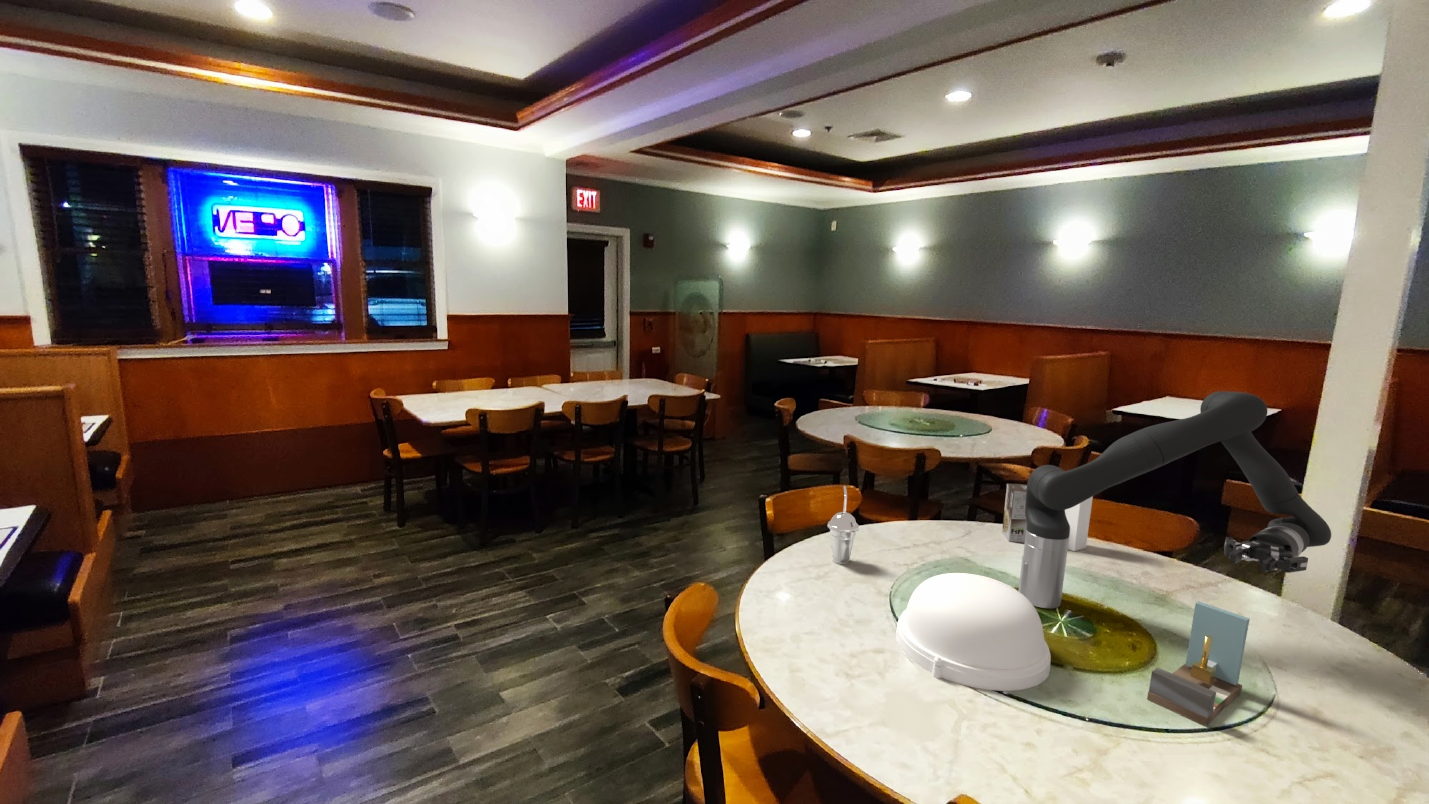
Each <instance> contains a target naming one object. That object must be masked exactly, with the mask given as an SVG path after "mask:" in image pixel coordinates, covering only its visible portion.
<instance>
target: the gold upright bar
mask: <svg viewBox="0 0 1429 804" xmlns="http://www.w3.org/2000/svg"><path fill="white" fill-rule="evenodd" d="M1211 641H1212V637H1211V636H1207V635H1206V636H1205V640H1204V646H1203V652H1202V658H1201V663H1199V662H1197V661H1196V662H1194V663H1193V664H1192V668H1191V674H1190V676H1191V677H1194V678H1196V679H1198V680H1201V681H1203V682H1206V683H1208V684H1210V683H1211V682H1212V681H1213V679H1214V673H1215V669H1214V668H1212V667H1209V666H1207V664H1208V658H1209V652H1210V646H1211Z"/></svg>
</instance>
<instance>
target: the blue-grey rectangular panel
mask: <svg viewBox="0 0 1429 804" xmlns="http://www.w3.org/2000/svg"><path fill="white" fill-rule="evenodd" d="M1249 625H1250V618H1249V617H1246V616H1244V615H1241V614H1238V613H1235V612H1232V611H1229V610H1226V609H1222V608H1219V607H1218V606H1217V607H1216V606H1214V605H1212V604H1211V605H1210V604H1208V603H1205V602H1202V601H1197V602H1195V605H1194V612H1193V617H1192V623H1191V629H1190V635H1189V641H1188V646H1187V648H1188V649H1187V653H1186V659H1185V663H1186V665H1187V666H1190V667H1192V664H1193V663H1194V662H1196V661H1197V662H1199V663H1201V658H1202V652H1203V646H1204V640H1205V636H1206V635H1207V636H1211V637H1212V641H1211V646H1210V652H1209V658H1208V664H1207V666H1209V667H1212V668H1214V669H1215V673H1214V677H1216V678H1219V679H1221V680H1224V681H1226V682H1229V683H1231V684H1234V685H1236V684H1237V683H1238V684H1239V680H1240V674H1241V670H1242V663H1243V658H1244V653H1245V646H1246V641H1247V637H1248V631H1249V630H1248V629H1249Z"/></svg>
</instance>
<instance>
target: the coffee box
mask: <svg viewBox="0 0 1429 804" xmlns="http://www.w3.org/2000/svg"><path fill="white" fill-rule="evenodd" d="M1005 491H1006V492H1005V500H1004V511H1003V520H1002V531H1001V532H1002V533H1003V535H1004V536H1005V538H1006V539H1007V540H1008V542H1013V543H1014V542H1015V543H1022V544H1023V543H1024V544H1025V536H1026V527H1027V521H1026V517H1025V504H1026V491H1027V484H1022V483H1006V490H1005Z"/></svg>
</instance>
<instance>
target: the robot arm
mask: <svg viewBox="0 0 1429 804" xmlns="http://www.w3.org/2000/svg"><path fill="white" fill-rule="evenodd" d="M1199 411H1200V413H1198V414H1195V415H1192V416H1189V417H1186V418H1182V419H1176V420H1172V421H1166V422H1162V423H1158V424H1154V425H1149V426H1146V427H1144V428H1142V429H1139V430H1136V431H1134V432H1132V433H1129V434H1127V435H1124V436H1122V437H1120V438H1118V439H1117V440H1116V441H1114V442H1113V443H1111V444H1110V445H1109V446H1108V447H1107V448H1106V449H1105V450H1104V451H1103V452H1102V453H1101V454H1100V455H1099V456H1097V458H1095V459H1094V460H1092V461H1089V462H1088V463H1085V464H1082V465H1080V466H1078V467H1075V468H1071V469H1069V470H1064V469H1062V468H1060V467H1058V466H1056V465H1053V464H1044V465H1043V464H1042V465H1040V466H1038V467H1037V468H1035V469H1034V470H1033V471H1032V472H1031V474H1030V475H1029V478H1028V479H1027V483H1026V485H1027V491H1026V504H1025V517H1026V521H1027V527H1026V536H1025V543H1024V547H1023V554H1022V557H1021V567H1020V576H1019V585H1018V591H1019V592H1020V593H1021V594H1023V595H1024V596H1025V597H1026V598H1027V599H1028V600H1029V601H1030V602H1031V603H1032V605H1033V606H1034V607H1038V608H1042V609H1056V608H1059V607H1060V606H1061V604H1062V597H1063V588H1064V580H1065V574H1066V573H1065V572H1066V565H1067V556H1068V550H1069V549H1068V543H1069V535H1070V525H1069V523H1068V521H1067V518H1066V515H1065V510H1066V509H1069V508H1072V507H1074V506H1076V505H1078V504H1080V503H1081V502H1083V501H1085V500H1087V499H1089V498H1090V497H1092V496H1093V497H1094V496H1096V495H1097V494H1099V493H1101V492H1103V491H1105V490H1107V489H1110V488H1112V487H1114V486H1116V485H1119V484H1122V483H1123V482H1127V481H1128V480H1132V479H1134V478H1136V477H1138V476H1141V475H1144V474H1146V473H1148V472H1151V471H1155V470H1156V469H1158V468H1161V467H1162V466H1165V465H1167V464H1170V463H1171V462H1173V461H1176V460H1178V459H1180V458H1182V457H1183V458H1184V457H1185V456H1188V455H1190V454H1192V453H1194V452H1196V451H1199V450H1201V449H1203V448H1205V447H1208V446H1210V445H1213V444H1217V443H1218V442H1219V443H1220V442H1221V444H1222V445H1223V446H1224V448H1225V449H1226V450H1227V451H1228V453H1229V454H1230V455H1231V456H1232V458H1233V459H1234V461H1235V462H1236V464H1237V465H1238V467H1239V468H1240V470H1241V471H1242V472H1243V474H1244V476H1245V477H1246V479H1247V481H1248V483H1249V484H1250V486H1251V488H1252V489H1253V491H1254V493H1255V495H1256V496H1257V498H1258V500H1259V502H1260V504H1261V506H1262V507H1263V508H1264V510H1265V511H1267V512H1268V513H1271V514H1274V515H1275V514H1276V515H1288V516H1287V517H1279V518H1275V519H1272V520H1270V521H1269V522H1268V524H1267V527H1266V528H1264V529H1262V530H1259V531H1258V532H1256V533H1255V534H1253V535H1251V536H1250V538H1248V540H1244V541H1242V542H1237V540H1235V539H1233V537H1231V536H1226V537H1225V540H1224V546H1223V549H1224V556H1227V557H1228V559H1229V561H1230V562H1231V563H1232V564H1235V565H1237V564H1238V563H1240V562H1241V561H1243V560H1244V562H1245V561H1246V562H1251V561H1255V562H1256V563H1257V564H1259V565H1261V569H1260V570H1261V572H1263V573H1268V572H1273V571H1278V569H1281V571H1282V572H1284V573H1286V574H1290V573H1297V572H1298V573H1299V572H1304V571H1307V569H1308V568H1307V567H1308V563H1309V557H1307V556H1300V555H1301V554H1302V553H1303V552H1305V551H1306V549H1307V548H1310V547H1311V548H1312V547H1322V546H1325V545H1328V543H1329V542H1330V541H1331V538H1332V531H1331V527H1330V526H1329V524H1328V523H1327V522H1326V520H1324V518H1323V517H1322V516H1321V515H1320V514H1318V513H1317V512H1316V511H1315V510H1314V509H1313V508H1312V507H1311V506H1310V505H1309V504H1308V503H1307V502H1306V501H1305V500H1304V499H1303V498H1302V495H1300V493H1299V491H1298V490H1297V488H1296V486H1295V485H1294V482H1293V481H1292V479H1291V478H1290V476H1289V475H1288V473H1287V471H1286V470H1285V469H1284V468H1283V466H1281V464H1280V463H1279V462H1278V461H1277V460H1276V459H1275V458H1274V457H1273V456H1271V454H1270V453H1268V451H1267V450H1266V449H1265V448H1264V447H1263V446H1262V445H1261V444H1260V443H1259V441H1258V440H1257V439H1256V437H1255V436H1254V435H1253V433H1252V432H1254V431H1255V430H1256V429H1258V428H1259V427H1260V426H1262V425H1263V423H1264V422H1265V420H1266V418H1267V416H1268V406H1267V404H1266V402H1265V401H1264V400H1263V399H1262V398H1260V397H1259V396H1257V395H1256V394H1255V395H1254V394H1251V393H1247V392H1243V391H1242V392H1241V391H1230V390H1228V391H1227V390H1226V391H1225V390H1221V391H1215V392H1211V393H1210V394H1208V395H1207V396H1206V397H1205V398H1204V399H1203V400H1202V402H1201V404H1200V410H1199Z"/></svg>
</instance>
